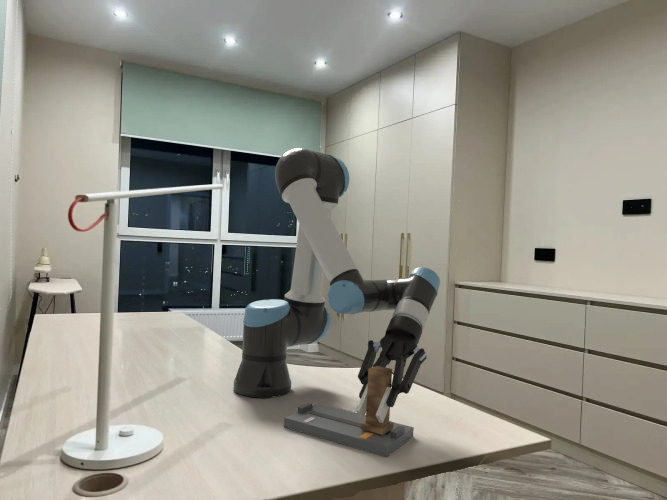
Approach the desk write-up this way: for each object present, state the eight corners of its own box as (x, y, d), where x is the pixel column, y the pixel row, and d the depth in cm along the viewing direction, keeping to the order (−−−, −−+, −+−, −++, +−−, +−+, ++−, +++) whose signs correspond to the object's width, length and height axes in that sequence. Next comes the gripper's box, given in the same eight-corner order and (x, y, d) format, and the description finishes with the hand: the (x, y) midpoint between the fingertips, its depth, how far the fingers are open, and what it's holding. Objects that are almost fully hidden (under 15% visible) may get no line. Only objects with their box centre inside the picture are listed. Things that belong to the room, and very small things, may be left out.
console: (284, 426, 108) (284, 412, 108) (317, 411, 119) (318, 397, 119) (386, 457, 95) (387, 440, 95) (413, 436, 106) (414, 421, 106)
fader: (360, 429, 103) (363, 369, 103) (371, 422, 107) (375, 364, 107) (382, 435, 100) (386, 373, 100) (393, 427, 104) (396, 368, 104)
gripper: (446, 340, 112) (413, 436, 98) (378, 330, 121) (339, 417, 107) (439, 318, 108) (403, 416, 94) (369, 309, 116) (327, 397, 102)
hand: (369, 416), depth 100 cm, fingers closed on fader, 4 cm apart
